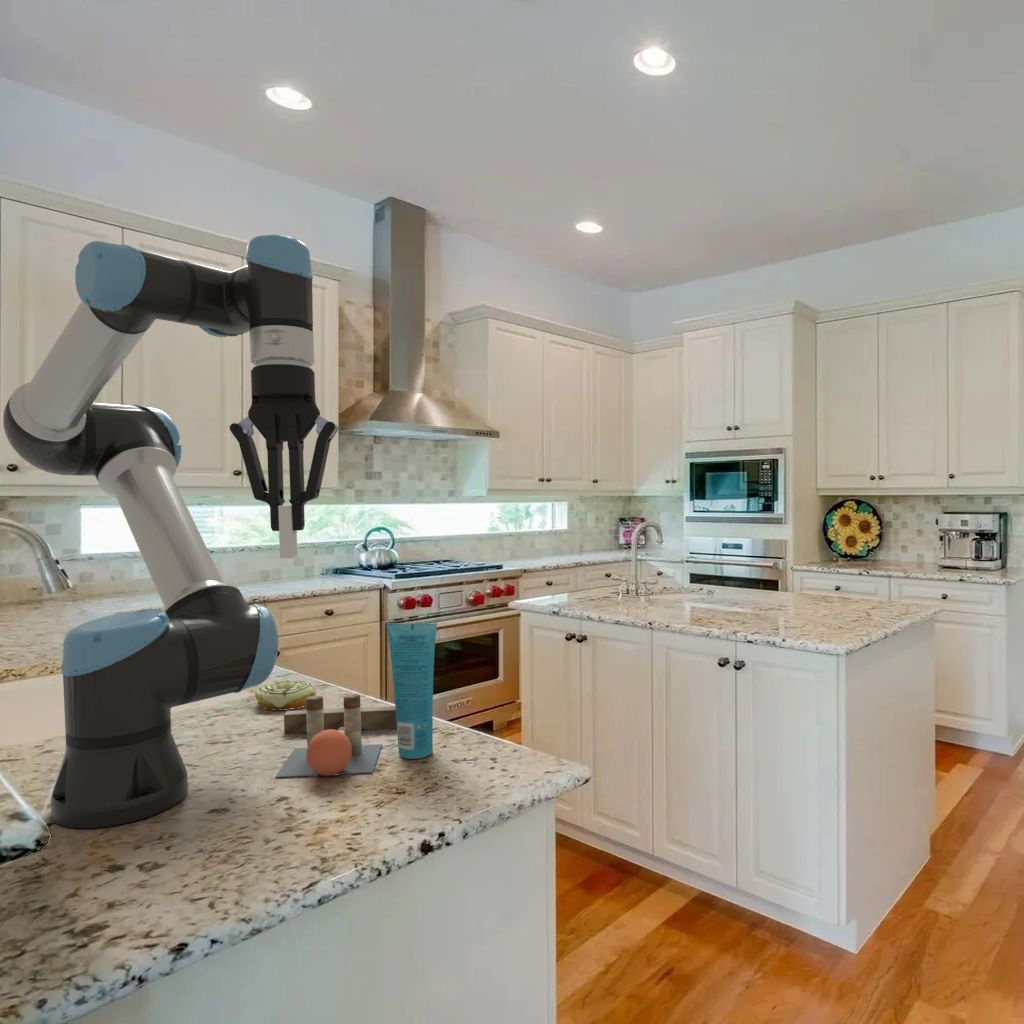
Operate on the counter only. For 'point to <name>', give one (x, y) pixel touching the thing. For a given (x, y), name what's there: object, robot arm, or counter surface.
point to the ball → (329, 752)
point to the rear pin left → (353, 722)
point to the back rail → (342, 719)
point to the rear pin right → (314, 716)
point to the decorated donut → (284, 694)
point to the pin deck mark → (357, 764)
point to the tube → (413, 686)
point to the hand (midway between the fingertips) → (288, 557)
